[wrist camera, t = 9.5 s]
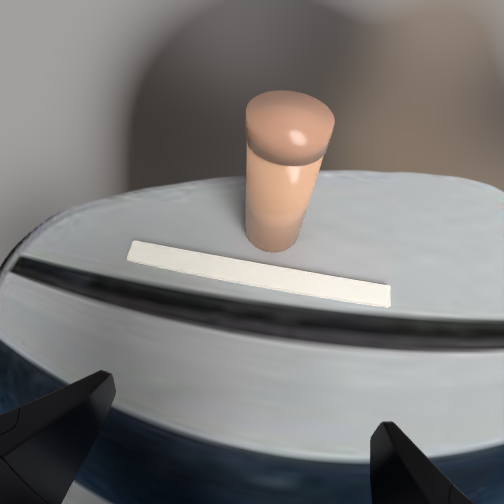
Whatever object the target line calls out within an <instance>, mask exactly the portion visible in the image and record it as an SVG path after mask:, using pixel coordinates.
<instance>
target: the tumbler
mask: <svg viewBox="0 0 504 504" xmlns="http://www.w3.org/2000/svg"><path fill="white" fill-rule="evenodd" d="M334 123H335V122H334V116H333V114H332V112H331V111H330V109H329V108H327V106H326V105H325V104H323V103H322V102H321V101H319V100H317V99H315V98H313V97H311V96H309V95H306V94H302V93H298V92H294V91H270V92H266V93H263V94H260V95H258V96H256V97H254V98H253V99H252V100H251V101H250V102H249V103H248V105H247V109H246V141H247V169H246V217H245V231H246V235H247V237H248V239H249V241H250V242H251V243H252V244H253V245H254V246H255V247H257V248H259V249H261V250H263V251H266V252H281V251H284V250H286V249H288V248H290V247H291V246H292V245H293V244H294V243H295V242H296V240H297V238H298V235H299V232H300V229H301V226H302V223H303V220H304V217H305V214H306V210H307V207H308V204H309V201H310V198H311V195H312V191H313V188H314V185H315V182H316V178H317V175H318V172H319V169H320V165H321V162H322V159H323V156H324V154H325V153H326V151H327V147H328V144H329V141H330V137H331V134H332V130H333V127H334Z"/></svg>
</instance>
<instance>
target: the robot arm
mask: <svg viewBox="0 0 504 504" xmlns="http://www.w3.org/2000/svg"><path fill="white" fill-rule="evenodd" d="M115 394H116V389H115V384H114V379H113V375H112V374H111V373H108V372H106V371H103V370H100V371H98V372H96V373H94V374H91V375H89V376H87V377H85V378H83V379H81V380H79V381H76V382H74V383H72V384H70V385H68V386H66V387H63V388H61V389H59V390H57V391H55V392H52V393H50V394H48V395H46V396H43V397H41V398H39V399H37V400H34V401H32V402H30V403H27V404H25V405H23V406H21V407H18V408H16V409H13V410H11V411H8V412H5V413H3V414H0V504H61V503H62V501H63V499H64V497H65V496H66V494H67V492H68V490H69V488H70V486H71V484H72V482H73V480H74V478H75V476H76V474H77V473H78V471H79V469H80V467H81V465H82V463H83V461H84V460H85V458H86V456H87V454H88V452H89V450H90V449H91V447H92V445H93V443H94V441H95V440H96V438H97V436H98V434H99V432H100V430H101V428H102V426H103V424H104V421H105V419H106V416H107V414H108V411H109V409H110V407H111V404H112V402H113V399H114V397H115ZM370 483H371V494H372V504H474V503H473V502H472V501H471V500H469V499H468V498H467V497H466V496H465V495H464V494H463V493H462V492H461V491H460V490H459V489H458V488H457V487H456V486H455V485H454V484H453V483H451V481H450V480H449V479H448V478H447V477H446V476H445V475H444V474H443V473H442V472H441V471H440V470H439V469H438V468H437V467H436V466H435V465H434V464H433V463H432V462H431V461H430V460H429V459H428V458H427V457H426V456H425V455H424V453H423V452H422V451H421V450H420V449H419V448H418V447H417V446H416V445H415V444H414V443H413V442H412V441H411V440H410V439H409V438H408V437H407V436H406V435H405V434H404V433H403V431H402V430H401V429H400V428H399V427H398V426H397V425H396V424H395V423H394V422H391V421H389V422H382V423H380V425H379V426H378V427H377V429H376V430H375V432H374V433H373V435H372V437H371V440H370Z"/></svg>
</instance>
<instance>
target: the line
mask: <svg viewBox="0 0 504 504" xmlns="http://www.w3.org/2000/svg"><path fill="white" fill-rule="evenodd" d="M127 261H130V262H134V263H139V264H144V265H148V266H153V267H158V268H162V269H167V270H172V271H177V272H182V273H187V274H192V275H197V276H202V277H207V278H212V279H217V280H222V281H228V282H233V283H238V284H244V285H249V286H255V287H260V288H266V289H271V290H277V291H283V292H289V293H295V294H301V295H307V296H313V297H319V298H325V299H332V300H338V301H345V302H351V303H358V304H365V305H372V306H379V307H386V308H389V307H390V286H389V285H383V284H377V283H371V282H365V281H359V280H353V279H347V278H341V277H335V276H330V275H324V274H318V273H312V272H306V271H301V270H295V269H289V268H283V267H278V266H272V265H266V264H261V263H255V262H249V261H244V260H238V259H233V258H227V257H222V256H216V255H211V254H205V253H200V252H194V251H189V250H183V249H178V248H173V247H167V246H162V245H156V244H151V243H146V242H140V241H135V240H133V243H132V245H131V248H130V251H129V253H128V256H127Z"/></svg>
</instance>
